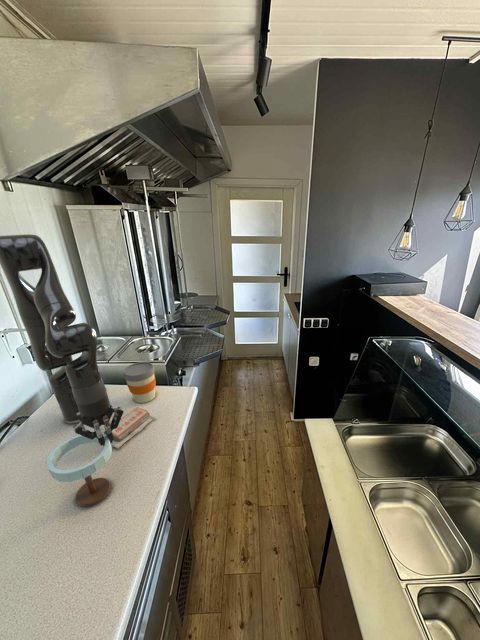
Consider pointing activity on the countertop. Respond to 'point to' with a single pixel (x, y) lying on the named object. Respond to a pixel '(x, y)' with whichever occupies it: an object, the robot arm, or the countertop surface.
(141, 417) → the packaged product
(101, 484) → the ring stand
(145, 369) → the reusable coffee cup
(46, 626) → the countertop surface
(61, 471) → the ring
